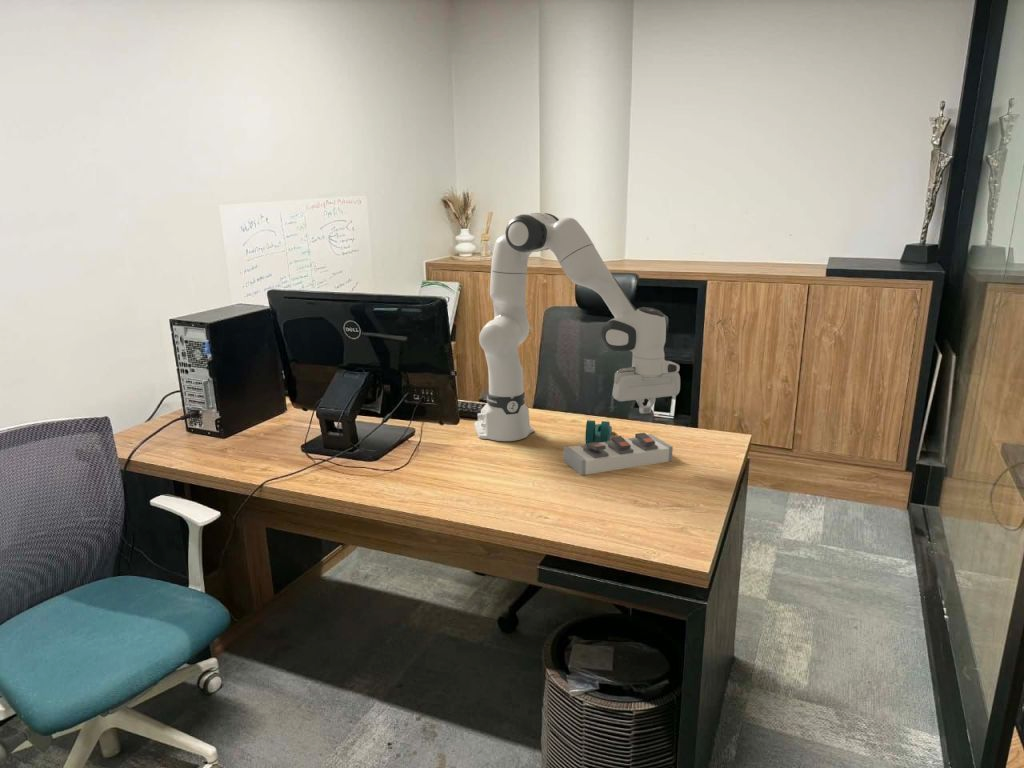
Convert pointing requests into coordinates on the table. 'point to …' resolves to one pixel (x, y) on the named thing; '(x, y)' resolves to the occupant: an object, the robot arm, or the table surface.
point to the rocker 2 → (620, 442)
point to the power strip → (616, 456)
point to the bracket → (598, 432)
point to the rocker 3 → (645, 439)
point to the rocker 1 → (595, 446)
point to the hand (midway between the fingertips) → (645, 412)
